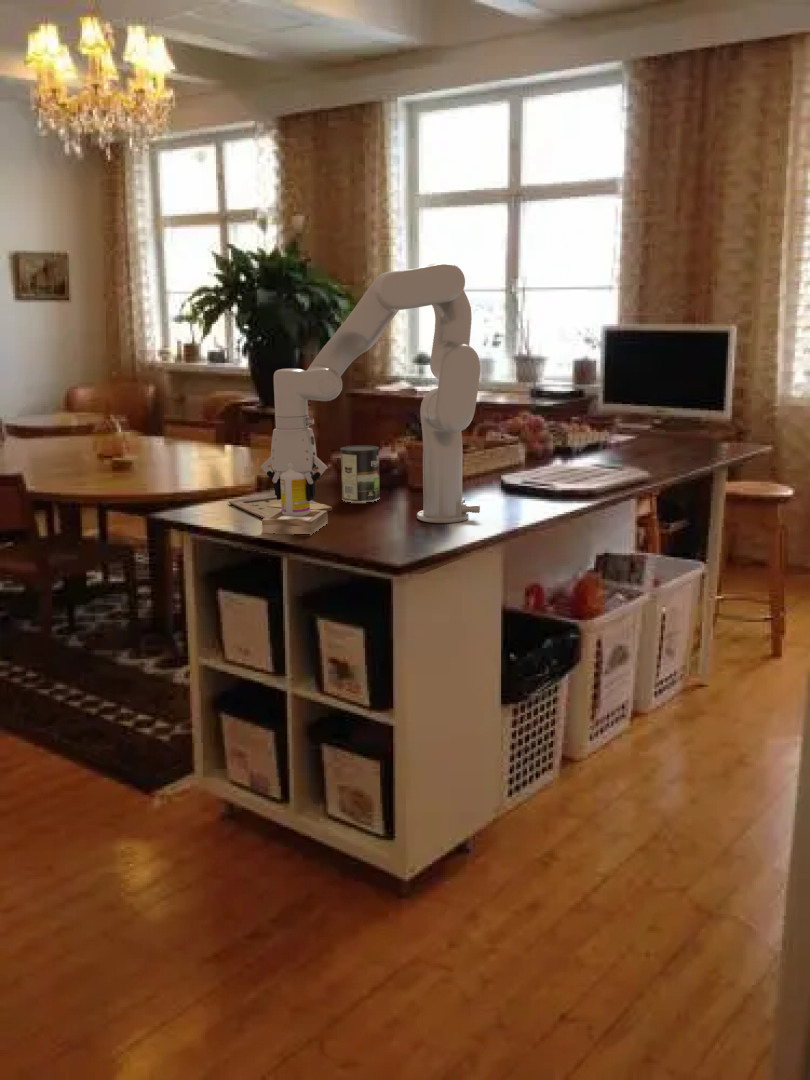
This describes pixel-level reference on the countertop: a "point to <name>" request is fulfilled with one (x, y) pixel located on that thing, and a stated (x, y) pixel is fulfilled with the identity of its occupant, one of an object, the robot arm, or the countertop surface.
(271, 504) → the picture frame
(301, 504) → the supplement bottle
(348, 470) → the coffee can
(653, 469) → the countertop surface
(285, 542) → the countertop surface
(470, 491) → the countertop surface
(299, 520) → the stand
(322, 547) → the countertop surface
